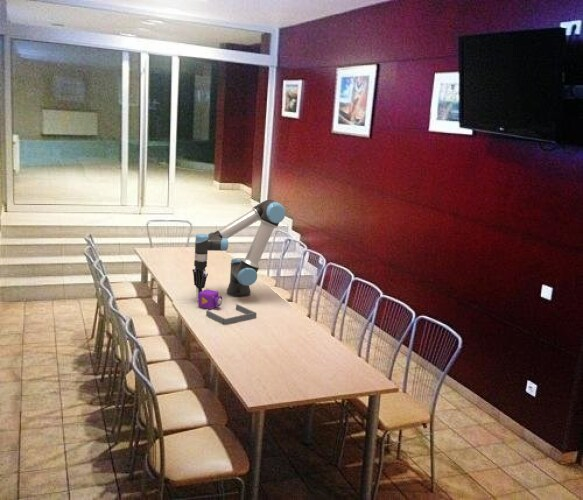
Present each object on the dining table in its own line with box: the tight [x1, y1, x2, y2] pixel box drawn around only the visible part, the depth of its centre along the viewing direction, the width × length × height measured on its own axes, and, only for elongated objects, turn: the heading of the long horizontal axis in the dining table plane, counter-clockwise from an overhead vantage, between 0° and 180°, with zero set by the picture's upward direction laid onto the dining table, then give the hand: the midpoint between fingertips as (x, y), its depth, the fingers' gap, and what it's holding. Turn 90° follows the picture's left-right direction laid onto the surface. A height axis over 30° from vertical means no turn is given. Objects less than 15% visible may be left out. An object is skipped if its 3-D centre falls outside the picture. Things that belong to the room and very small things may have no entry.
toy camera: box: [197, 288, 223, 310], centre depth 349 cm, size 11×14×10 cm
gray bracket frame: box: [205, 303, 257, 326], centre depth 336 cm, size 22×18×4 cm
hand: (198, 298), depth 358 cm, fingers closed
